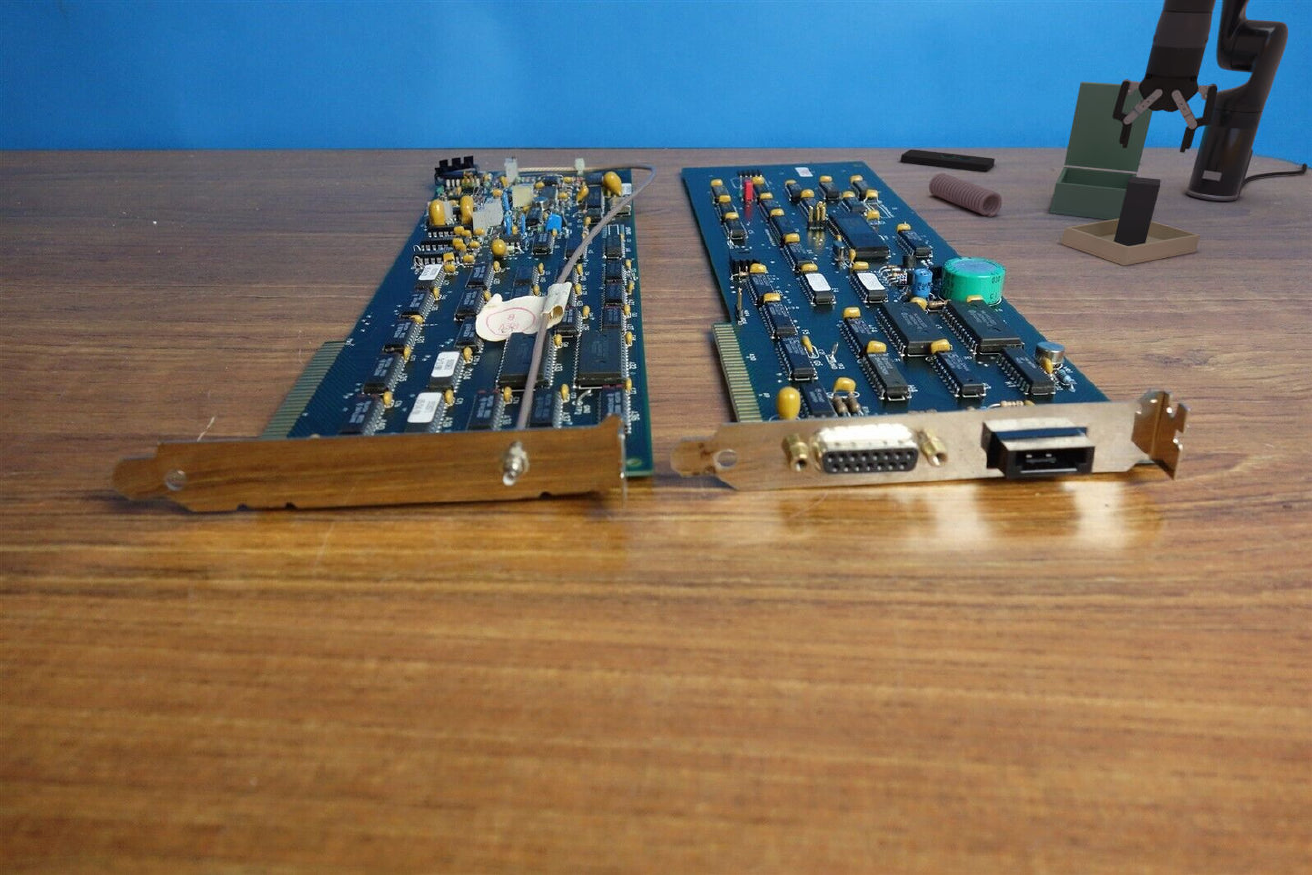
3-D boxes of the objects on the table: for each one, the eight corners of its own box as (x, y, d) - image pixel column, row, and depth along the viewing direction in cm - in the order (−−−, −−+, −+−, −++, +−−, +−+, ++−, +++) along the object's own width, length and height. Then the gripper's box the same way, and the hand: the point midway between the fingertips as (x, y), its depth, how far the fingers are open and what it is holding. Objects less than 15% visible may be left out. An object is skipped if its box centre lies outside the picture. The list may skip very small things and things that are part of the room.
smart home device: (987, 164, 210) (900, 154, 219) (986, 172, 211) (899, 162, 220) (995, 157, 217) (910, 148, 225) (994, 165, 217) (910, 155, 226)
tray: (1130, 232, 169) (1135, 215, 168) (1195, 252, 159) (1200, 234, 158) (1061, 244, 163) (1065, 227, 161) (1124, 265, 152) (1128, 247, 151)
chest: (1126, 221, 175) (1133, 190, 173) (1049, 213, 181) (1055, 183, 178) (1129, 202, 188) (1137, 173, 185) (1058, 195, 193) (1064, 166, 190)
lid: (1158, 87, 175) (1160, 79, 178) (1080, 83, 180) (1083, 75, 183) (1137, 172, 184) (1139, 163, 188) (1064, 165, 190) (1067, 156, 193)
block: (1143, 250, 158) (1160, 185, 153) (1112, 247, 160) (1128, 182, 154) (1144, 243, 162) (1160, 179, 156) (1114, 239, 164) (1129, 176, 158)
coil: (1006, 193, 177) (949, 172, 191) (986, 192, 175) (930, 171, 190) (999, 217, 179) (943, 195, 194) (980, 217, 177) (925, 194, 192)
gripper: (1230, 42, 145) (1201, 149, 153) (1130, 38, 151) (1107, 141, 159) (1232, 47, 139) (1202, 158, 147) (1128, 43, 145) (1104, 150, 153)
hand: (1152, 149), depth 153 cm, fingers open, 8 cm apart
